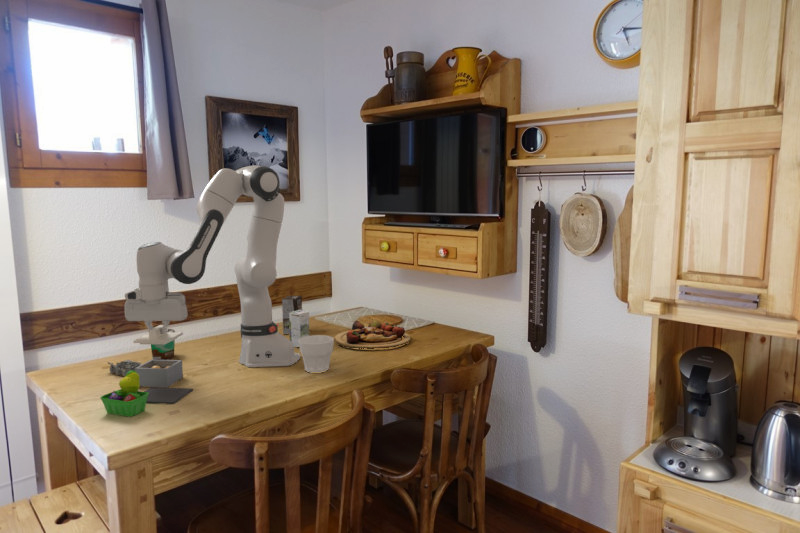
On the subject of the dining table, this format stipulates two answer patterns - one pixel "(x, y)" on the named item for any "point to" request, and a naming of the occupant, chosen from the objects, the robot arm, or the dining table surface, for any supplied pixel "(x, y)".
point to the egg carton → (120, 366)
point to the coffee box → (290, 310)
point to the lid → (157, 336)
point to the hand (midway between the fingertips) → (158, 333)
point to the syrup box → (298, 326)
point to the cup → (316, 352)
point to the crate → (159, 373)
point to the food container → (163, 350)
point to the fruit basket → (126, 397)
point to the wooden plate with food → (372, 336)
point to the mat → (166, 394)
